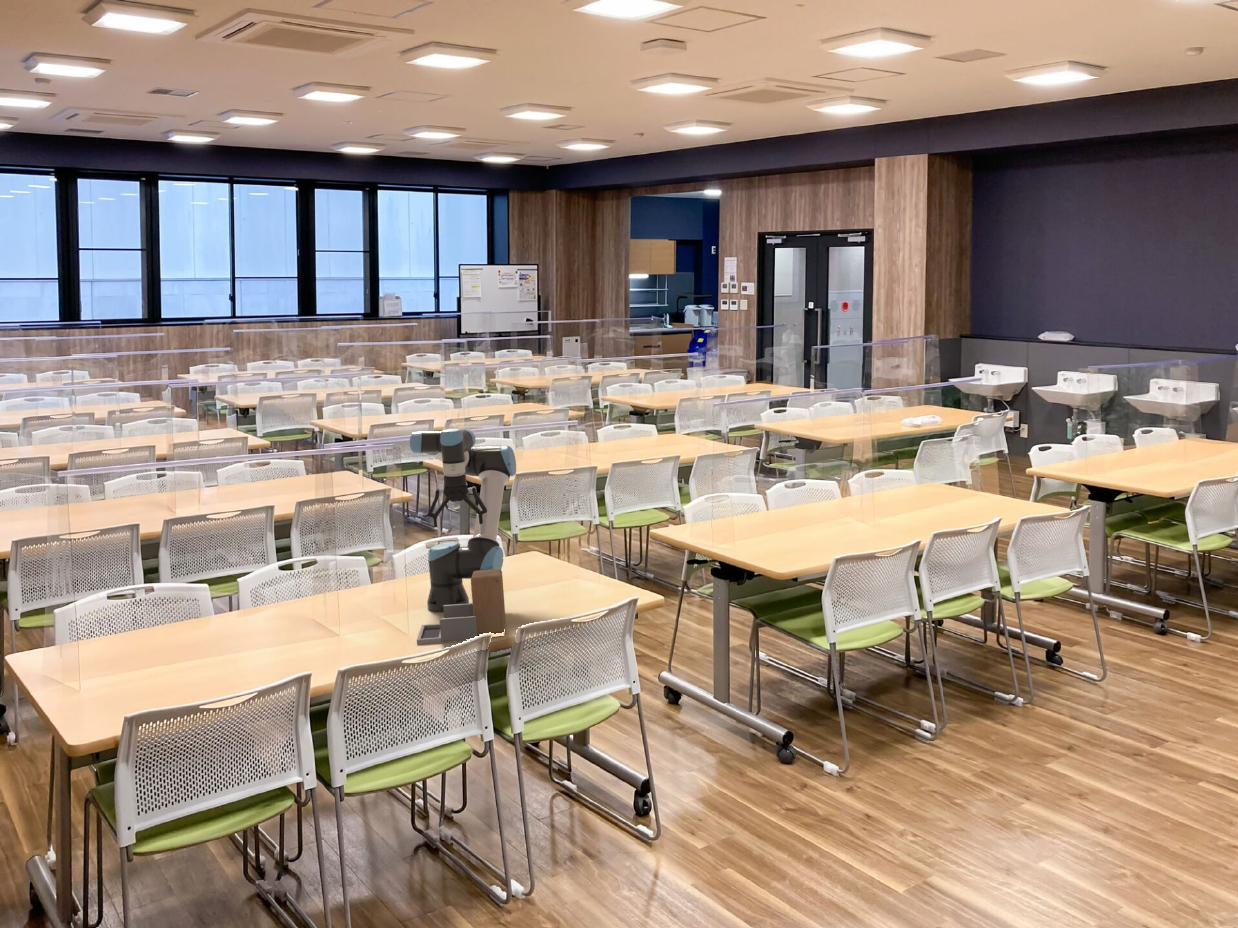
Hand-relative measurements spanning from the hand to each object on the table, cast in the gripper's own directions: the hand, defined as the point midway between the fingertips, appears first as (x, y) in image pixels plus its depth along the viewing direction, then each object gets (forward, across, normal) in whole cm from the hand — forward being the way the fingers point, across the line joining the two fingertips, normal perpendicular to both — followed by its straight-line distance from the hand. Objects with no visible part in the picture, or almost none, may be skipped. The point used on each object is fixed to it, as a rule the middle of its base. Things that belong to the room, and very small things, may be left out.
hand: (459, 534), depth 403 cm
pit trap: (+32, -11, -12) cm, 35 cm away
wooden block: (+32, +9, -10) cm, 34 cm away
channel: (+32, -1, -12) cm, 34 cm away
